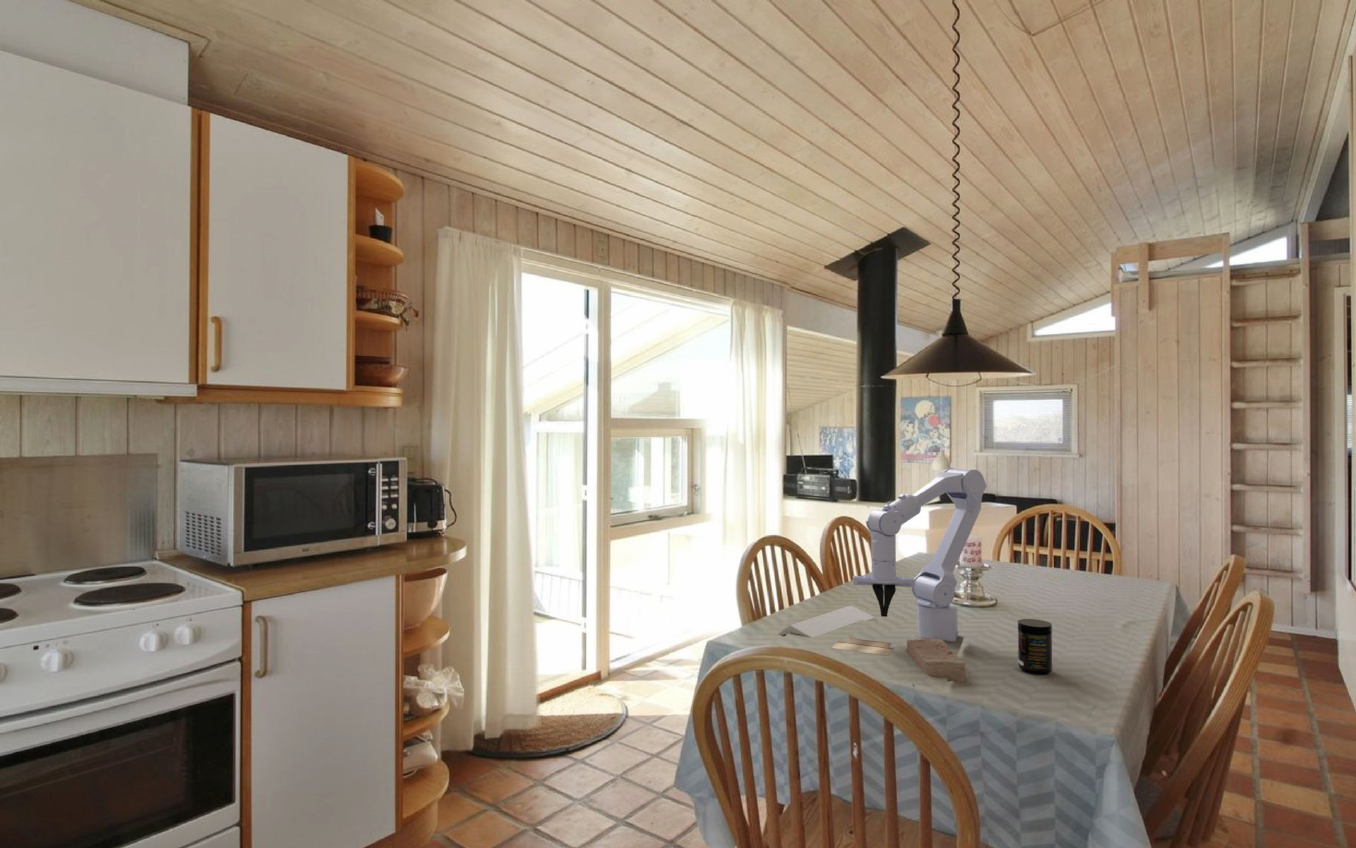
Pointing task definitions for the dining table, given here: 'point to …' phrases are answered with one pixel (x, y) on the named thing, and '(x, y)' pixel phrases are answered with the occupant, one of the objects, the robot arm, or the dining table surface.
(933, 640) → the brick
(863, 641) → the plank
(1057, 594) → the dining table surface
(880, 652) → the floor strip
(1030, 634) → the supplement container
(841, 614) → the crown molding
